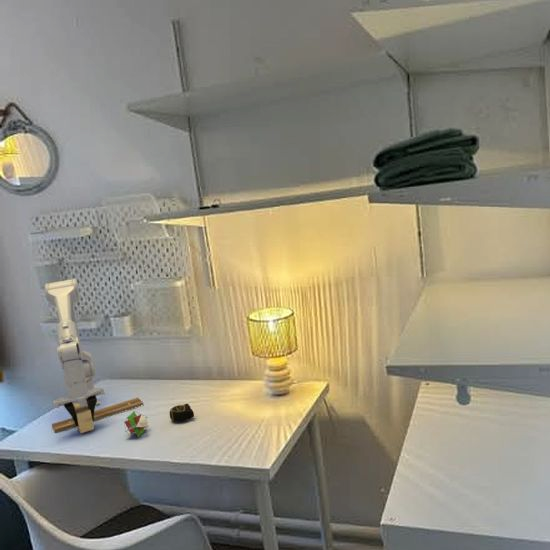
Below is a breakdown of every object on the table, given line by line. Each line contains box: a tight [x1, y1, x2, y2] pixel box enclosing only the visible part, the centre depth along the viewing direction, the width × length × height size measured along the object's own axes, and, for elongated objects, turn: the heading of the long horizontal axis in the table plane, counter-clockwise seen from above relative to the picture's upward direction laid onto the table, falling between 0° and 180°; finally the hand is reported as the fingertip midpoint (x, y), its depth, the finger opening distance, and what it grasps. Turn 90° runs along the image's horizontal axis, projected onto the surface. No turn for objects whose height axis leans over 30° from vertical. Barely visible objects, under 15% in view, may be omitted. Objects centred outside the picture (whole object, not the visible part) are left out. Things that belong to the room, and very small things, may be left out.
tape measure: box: [169, 403, 195, 423], centre depth 182 cm, size 7×7×4 cm
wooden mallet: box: [74, 404, 95, 434], centre depth 186 cm, size 13×4×6 cm, turn 29°
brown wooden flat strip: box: [51, 397, 144, 434], centre depth 194 cm, size 6×28×1 cm, turn 119°
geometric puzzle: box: [123, 410, 149, 438], centre depth 175 cm, size 7×7×8 cm
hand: (84, 422), depth 183 cm, fingers closed on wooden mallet, 4 cm apart
